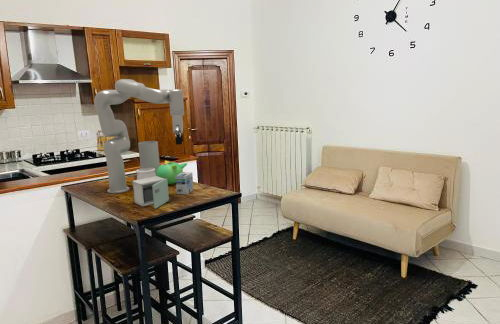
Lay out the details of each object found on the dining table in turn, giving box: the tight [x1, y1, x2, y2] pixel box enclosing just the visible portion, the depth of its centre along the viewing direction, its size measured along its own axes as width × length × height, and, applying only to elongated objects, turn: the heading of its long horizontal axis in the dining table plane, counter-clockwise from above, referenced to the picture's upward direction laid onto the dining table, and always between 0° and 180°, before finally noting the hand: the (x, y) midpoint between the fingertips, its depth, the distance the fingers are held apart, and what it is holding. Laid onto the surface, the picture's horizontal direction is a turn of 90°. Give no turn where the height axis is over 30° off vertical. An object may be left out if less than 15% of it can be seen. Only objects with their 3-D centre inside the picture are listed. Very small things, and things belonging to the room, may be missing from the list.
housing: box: [132, 176, 164, 207], centre depth 201 cm, size 10×14×12 cm
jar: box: [136, 167, 156, 180], centre depth 215 cm, size 11×10×15 cm
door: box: [152, 179, 170, 209], centre depth 195 cm, size 2×14×12 cm, turn 165°
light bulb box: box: [175, 171, 194, 195], centre depth 218 cm, size 11×7×11 cm, turn 168°
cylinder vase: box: [137, 140, 161, 175], centre depth 253 cm, size 12×12×25 cm
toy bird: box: [156, 160, 188, 185], centre depth 239 cm, size 18×17×15 cm
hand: (179, 143), depth 209 cm, fingers open, 9 cm apart
